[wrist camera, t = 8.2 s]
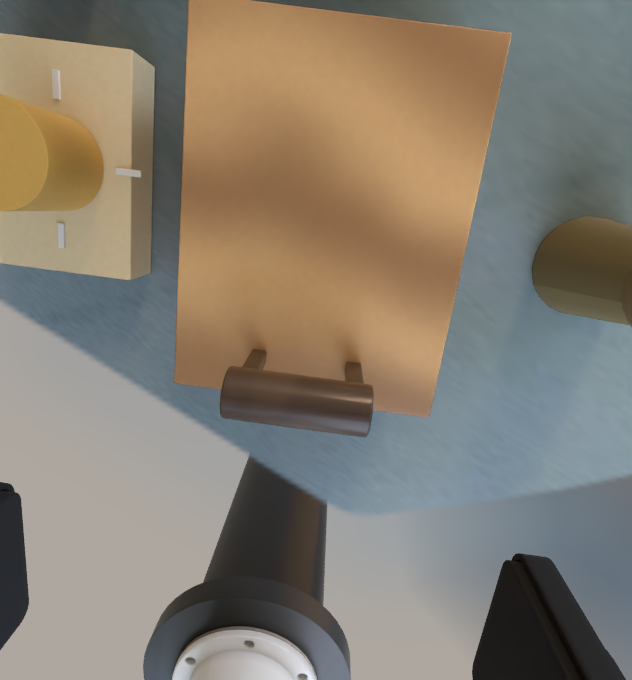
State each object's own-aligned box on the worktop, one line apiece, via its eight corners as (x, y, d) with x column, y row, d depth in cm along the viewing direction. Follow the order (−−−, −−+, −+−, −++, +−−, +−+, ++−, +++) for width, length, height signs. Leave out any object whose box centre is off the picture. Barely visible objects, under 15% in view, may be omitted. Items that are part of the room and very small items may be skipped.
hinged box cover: (426, 411, 23) (458, 484, 17) (179, 377, 23) (121, 438, 17) (505, 39, 18) (589, -45, 12) (194, 0, 18) (123, -102, 12)
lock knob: (103, 119, 24) (40, 96, 19) (104, 216, 26) (46, 217, 20) (11, 107, 24) (-76, 81, 19) (17, 204, 26) (-63, 203, 20)
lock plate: (160, 274, 29) (139, 282, 26) (21, 256, 30) (-16, 261, 26) (165, 68, 26) (142, 49, 23) (8, 48, 26) (-35, 27, 23)
